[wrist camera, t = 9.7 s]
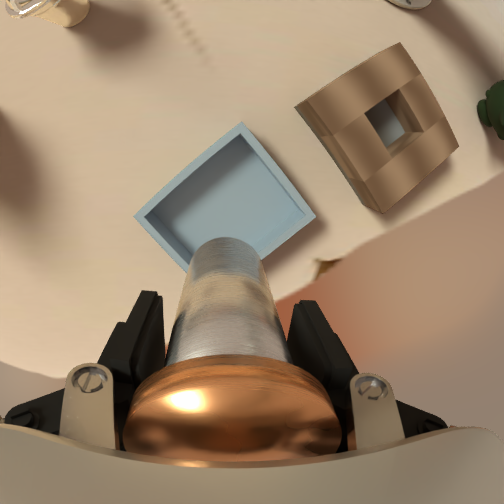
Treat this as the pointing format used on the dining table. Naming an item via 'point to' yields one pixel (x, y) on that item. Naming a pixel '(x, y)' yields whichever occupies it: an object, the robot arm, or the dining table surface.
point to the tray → (226, 201)
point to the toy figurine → (493, 108)
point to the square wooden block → (381, 127)
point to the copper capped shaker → (230, 374)
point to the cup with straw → (50, 10)
